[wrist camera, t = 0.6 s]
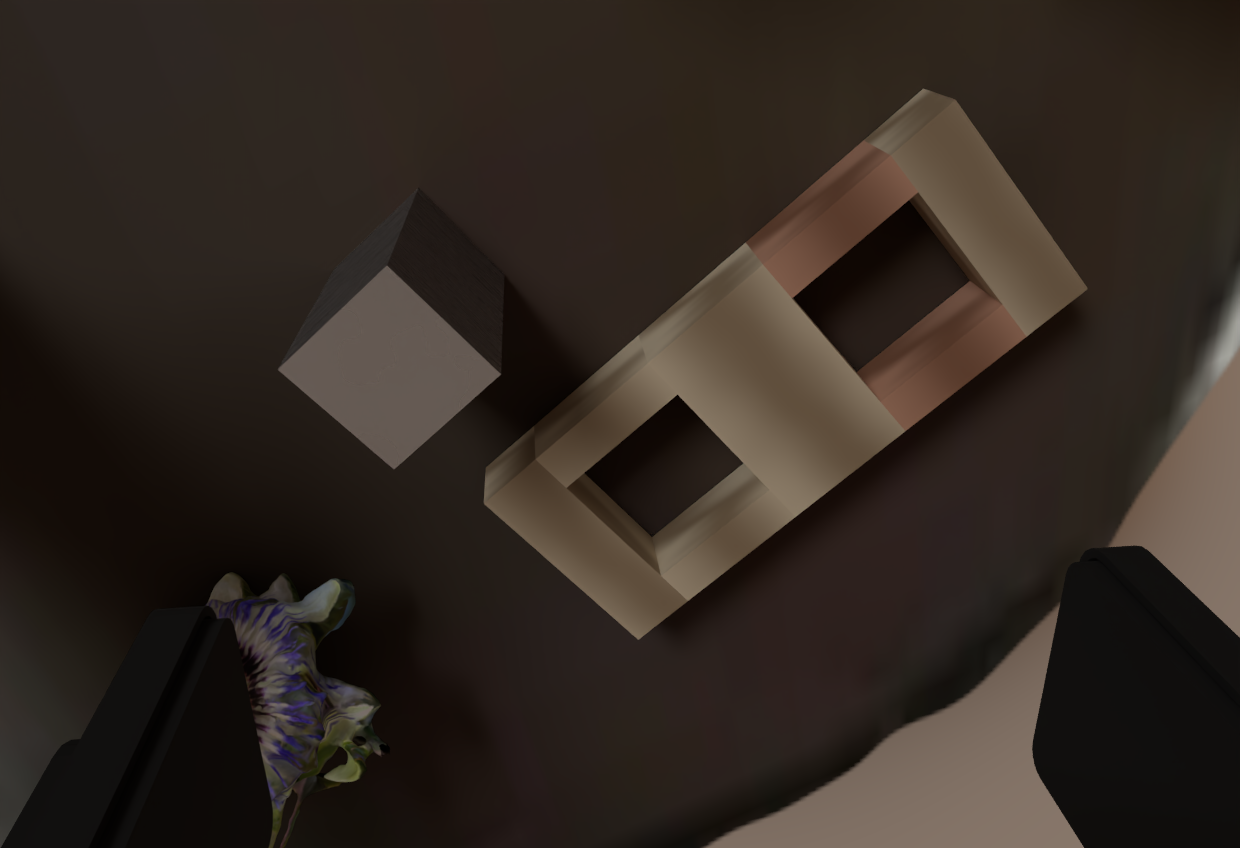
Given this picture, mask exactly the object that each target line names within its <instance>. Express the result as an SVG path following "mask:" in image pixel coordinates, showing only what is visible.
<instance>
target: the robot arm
mask: <svg viewBox="0 0 1240 848" xmlns="http://www.w3.org/2000/svg"><path fill="white" fill-rule="evenodd" d="M1032 750H1033V758H1034V764H1035V767H1036V770H1037V773H1038V774H1039V776H1040V778H1041V780H1042V782H1043V783H1044V785H1045V786H1046V788H1047V789H1048V791H1049V793H1050V794H1051V796H1052V797H1053V799H1054V801H1055V802H1056V804H1057V805H1058V807H1059V809H1060V810H1061V812H1062V813H1063V815H1064V816H1065V818H1066V820H1067V821H1068V823H1069V824H1070V826H1071V828H1072V829H1073V831H1074V832H1075V834H1076V835H1077V837H1078V839H1079V840H1080V842H1081V843H1082V845H1083V847H1084V848H1240V638H1239V637H1238V636H1237V635H1236V634H1235V633H1234V632H1233V631H1232V630H1231V629H1230V628H1229V627H1228V626H1227V625H1226V624H1225V623H1224V622H1223V621H1222V620H1221V619H1219V618H1218V617H1217V616H1216V615H1215V614H1214V613H1213V612H1212V611H1211V610H1210V609H1209V608H1208V607H1207V606H1206V605H1205V604H1204V603H1203V602H1202V601H1201V600H1199V599H1198V598H1197V597H1196V596H1195V595H1194V594H1193V593H1192V592H1191V591H1190V590H1189V589H1188V588H1187V587H1186V586H1185V585H1184V584H1183V583H1182V582H1181V581H1180V580H1179V579H1178V578H1176V577H1175V576H1174V575H1173V574H1172V573H1171V572H1170V571H1169V570H1168V569H1167V568H1166V567H1165V566H1164V565H1163V564H1162V563H1161V562H1160V561H1159V560H1158V559H1157V558H1155V557H1154V556H1153V555H1152V554H1151V553H1150V552H1149V551H1148V550H1146V549H1145V548H1143V547H1141V546H1122V547H1107V548H1091V549H1089V550H1087V551H1085V552H1084V554H1083V555H1082V557H1081V559H1080V562H1075V563H1073V564H1071V565H1070V567H1069V568H1068V570H1067V573H1066V577H1065V583H1064V588H1063V593H1062V598H1061V603H1060V608H1059V613H1058V618H1057V623H1056V628H1055V633H1054V638H1053V643H1052V648H1051V653H1050V658H1049V663H1048V668H1047V673H1046V678H1045V684H1044V689H1043V693H1042V698H1041V703H1040V708H1039V714H1038V719H1037V724H1036V729H1035V734H1034V739H1033V748H1032ZM272 828H273V807H272V800H271V796H270V791H269V786H268V782H267V777H266V772H265V767H264V763H263V758H262V753H261V749H260V744H259V739H258V734H257V730H256V725H255V720H254V716H253V711H252V706H251V701H250V697H249V692H248V687H247V683H246V678H245V673H244V668H243V664H242V659H241V654H240V650H239V645H238V640H237V635H236V631H235V627H234V624H233V622H232V620H231V619H229V618H218V619H217V617H216V613H215V612H214V610H213V608H212V607H210V606H195V607H179V608H164V609H156V610H153V611H152V612H151V613H150V615H149V616H148V617H147V619H146V621H145V623H144V625H143V626H142V628H141V630H140V632H139V634H138V636H137V637H136V639H135V641H134V643H133V645H132V646H131V648H130V650H129V652H128V654H127V655H126V657H125V659H124V661H123V663H122V665H121V666H120V668H119V670H118V672H117V674H116V675H115V677H114V679H113V681H112V683H111V685H110V686H109V688H108V690H107V692H106V694H105V695H104V697H103V699H102V701H101V703H100V704H99V706H98V708H97V710H96V712H95V714H94V715H93V717H92V719H91V721H90V723H89V724H88V726H87V728H86V730H85V732H84V733H83V735H82V737H81V739H76V740H70V741H68V742H67V743H65V744H63V745H62V746H61V747H60V748H59V750H58V751H57V752H56V754H55V755H54V756H53V758H52V760H51V761H50V763H49V765H48V766H47V768H46V770H45V772H44V773H43V775H42V777H41V779H40V780H39V782H38V784H37V786H36V787H35V789H34V791H33V793H32V794H31V796H30V798H29V800H28V801H27V803H26V805H25V807H24V808H23V810H22V812H21V814H20V815H19V817H18V819H17V821H16V822H15V824H14V826H13V828H12V829H11V831H10V833H9V835H8V836H7V838H6V840H5V842H4V843H3V845H2V847H1V848H269V845H270V841H271V836H272Z"/></svg>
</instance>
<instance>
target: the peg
mask: <svg viewBox="0 0 1240 848" xmlns="http://www.w3.org/2000/svg"><path fill="white" fill-rule="evenodd" d="M503 299H504V274H503V273H502V272H501V271H500V269H499V268H498V267H497V266H496V265H495V264H494V263H493V262H492V261H491V260H490V259H489V258H488V257H487V256H486V255H485V254H484V253H483V252H482V251H481V250H480V249H479V248H478V247H477V246H476V245H475V244H474V243H473V242H472V241H471V240H470V239H469V238H468V237H467V236H466V235H465V234H464V233H463V232H462V231H461V230H460V229H459V228H458V227H457V226H456V225H455V224H454V223H453V222H452V221H451V220H450V219H449V218H448V217H447V216H446V215H445V214H444V213H443V212H442V211H441V210H440V209H439V208H438V207H437V206H436V205H435V204H434V203H433V202H432V201H431V200H430V199H429V198H428V197H427V196H426V195H425V194H424V193H423V192H422V191H421V190H420V189H419V188H418V189H417V190H416V191H415V192H413V193H412V194H411V195H410V196H409V197H408V198H407V199H406V200H405V201H404V202H403V203H402V204H401V205H400V206H399V207H398V208H397V209H396V210H395V211H394V212H393V213H392V214H391V215H390V216H389V217H388V218H387V219H386V220H385V221H384V222H382V223H381V224H380V225H379V226H378V227H377V228H376V229H375V230H374V231H373V232H372V233H371V234H370V235H369V236H368V237H367V238H366V239H365V240H364V241H363V242H362V243H361V244H360V245H359V246H358V247H357V248H356V249H355V250H354V251H353V252H351V253H350V254H349V255H348V256H347V257H346V258H345V259H344V260H343V261H342V262H341V263H340V264H339V265H338V266H337V267H336V268H335V269H334V271H333V272H332V274H331V276H330V278H329V280H328V281H327V283H326V285H325V287H324V288H323V290H322V292H321V294H320V295H319V297H318V299H317V301H316V303H315V304H314V306H313V308H312V310H311V311H310V313H309V315H308V317H307V319H306V320H305V322H304V324H303V326H302V327H301V329H300V331H299V333H298V334H297V336H296V338H295V340H294V342H293V343H292V345H291V347H290V349H289V350H288V352H287V354H286V356H285V357H284V359H283V361H282V363H281V365H280V366H279V368H278V370H279V371H280V372H281V373H282V374H284V375H285V376H286V377H287V378H288V379H289V380H290V381H292V382H293V383H294V384H295V385H296V386H297V387H299V388H300V389H301V390H302V391H303V392H304V393H306V394H307V395H308V396H309V397H310V398H311V399H313V400H314V401H315V402H316V403H317V404H318V405H320V406H321V407H322V408H323V409H324V410H325V411H327V412H328V413H329V414H330V415H331V416H332V417H334V418H335V419H336V420H337V421H338V422H339V423H341V424H342V425H343V426H344V427H345V428H346V429H348V430H349V431H350V432H351V433H352V434H353V435H355V436H356V437H357V438H358V439H359V440H360V441H361V442H363V443H364V444H365V445H366V446H367V447H368V448H370V449H371V450H372V451H373V452H374V453H375V454H377V455H378V456H379V457H380V458H381V459H382V460H384V461H385V462H386V463H387V464H388V465H389V466H391V467H392V468H393V469H395V468H396V467H397V466H398V465H400V464H401V463H402V462H403V461H404V460H405V459H406V458H407V457H409V456H410V455H411V454H412V453H413V452H414V451H415V450H416V449H418V448H419V447H420V446H421V445H422V444H423V443H424V442H425V441H427V440H428V439H429V438H430V437H431V436H432V435H433V434H434V433H436V432H437V431H438V430H439V429H440V428H441V427H442V426H443V425H445V424H446V423H447V422H448V421H449V420H450V419H451V418H452V417H454V416H455V415H456V414H457V413H458V412H459V411H460V410H461V409H463V408H464V407H465V406H466V405H467V404H468V403H469V402H470V401H472V400H473V399H474V398H475V397H476V396H477V395H478V394H479V393H481V392H482V391H483V390H484V389H485V388H486V387H487V386H488V385H490V384H491V383H492V382H493V381H494V380H495V379H496V378H497V377H499V376H500V375H501V359H502V329H503Z"/></svg>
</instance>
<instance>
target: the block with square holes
mask: <svg viewBox="0 0 1240 848" xmlns="http://www.w3.org/2000/svg"><path fill="white" fill-rule="evenodd" d="M908 200H909V201H910V202H911V204H912V205H913V206H914V208H915V209H916V210H917V212H918V213H919V214H920V215H921V217H922V218H923V219H924V221H925V222H926V223H927V225H928V226H929V227H930V229H931V230H932V231H933V233H934V234H935V235H936V237H937V238H938V239H939V241H940V242H941V243H942V245H943V246H944V247H945V249H946V250H947V251H948V252H949V254H950V255H951V256H952V258H953V259H954V260H955V262H956V263H957V264H958V266H959V267H960V268H961V270H962V271H963V272H964V274H965V275H966V276H967V278H968V279H969V280H970V281H969V282H968V283H967V284H965V285H964V286H963V287H962V288H960V289H959V290H958V291H957V292H956V293H954V294H953V295H952V296H951V297H949V298H948V299H947V300H946V301H944V302H943V303H942V304H941V305H939V306H938V307H937V308H936V309H934V310H933V311H932V312H931V313H929V314H928V315H927V316H926V317H925V318H923V319H922V320H921V321H920V322H918V323H917V324H916V325H915V326H913V327H912V328H911V329H910V330H908V331H907V332H906V333H905V334H903V335H902V336H901V337H900V338H898V339H897V340H896V341H895V342H893V343H892V344H891V345H890V346H889V347H887V348H886V349H885V350H884V351H882V352H881V353H880V354H879V355H877V356H876V357H875V358H874V359H872V360H871V361H870V362H869V363H867V364H866V365H865V366H864V367H862V368H861V369H860V370H859V371H858V372H856V371H855V370H854V369H853V368H852V366H851V365H850V364H849V363H848V362H847V360H846V359H845V358H844V357H843V356H842V355H841V353H840V352H839V351H838V350H837V349H836V348H835V346H834V345H833V344H832V343H831V342H830V341H829V339H828V338H827V337H826V336H825V335H824V334H823V332H822V331H821V330H820V329H819V328H818V327H817V325H816V324H815V323H814V322H813V321H812V320H811V318H810V317H809V316H808V315H807V314H806V313H805V311H804V310H803V309H802V308H801V307H800V306H799V304H798V303H797V302H796V301H795V300H794V298H793V297H794V296H795V295H797V294H798V293H799V292H800V291H801V290H802V289H804V288H805V287H806V286H807V285H808V284H810V283H811V282H812V281H813V280H814V279H816V278H817V277H818V276H819V275H820V274H822V273H823V272H824V271H825V270H826V269H827V268H829V267H830V266H831V265H832V264H833V263H835V262H836V261H837V260H838V259H839V258H841V257H842V256H843V255H844V254H845V253H847V252H848V251H849V250H850V249H851V248H852V247H854V246H855V245H856V244H857V243H858V242H860V241H861V240H862V239H863V238H864V237H866V236H867V235H868V234H869V233H870V232H872V231H873V230H874V229H875V228H876V227H877V226H879V225H880V224H881V223H882V222H883V221H885V220H886V219H887V218H888V217H889V216H891V215H892V214H893V213H894V212H895V211H897V210H898V209H899V208H900V207H901V206H902V205H904V204H905V203H906V202H907V201H908ZM1087 289H1088V288H1087V287H1086V286H1085V284H1084V283H1083V281H1082V280H1081V278H1080V277H1079V276H1078V274H1077V273H1076V271H1075V270H1074V268H1073V267H1072V266H1071V264H1070V263H1069V261H1068V260H1067V258H1066V257H1065V256H1064V254H1063V253H1062V251H1061V250H1060V248H1059V247H1058V246H1057V244H1056V243H1055V241H1054V240H1053V238H1052V237H1051V236H1050V234H1049V233H1048V231H1047V230H1046V228H1045V227H1044V226H1043V224H1042V223H1041V221H1040V220H1039V218H1038V217H1037V216H1036V214H1035V213H1034V211H1033V210H1032V208H1031V207H1030V206H1029V204H1028V203H1027V201H1026V200H1025V198H1024V197H1023V196H1022V194H1021V193H1020V191H1019V190H1018V188H1017V187H1016V186H1015V184H1014V183H1013V181H1012V180H1011V178H1010V177H1009V176H1008V174H1007V173H1006V171H1005V170H1004V168H1003V167H1002V166H1001V164H1000V163H999V161H998V160H997V158H996V157H995V155H994V154H993V153H992V151H991V150H990V148H989V147H988V145H987V144H986V143H985V141H984V140H983V138H982V137H981V135H980V134H979V133H978V131H977V130H976V128H975V127H974V125H973V124H972V123H971V121H970V120H969V118H968V117H967V115H966V114H965V113H964V111H963V110H962V108H961V107H960V105H959V104H958V103H957V101H956V100H955V99H952V98H949V97H946V96H943V95H940V94H937V93H934V92H931V91H929V90H926V89H922V90H921V91H920V92H919V93H918V94H917V95H915V96H914V97H913V98H912V99H911V100H910V101H909V102H907V103H906V104H905V105H904V106H903V107H902V108H900V109H899V110H898V111H897V112H896V113H895V114H894V115H892V116H891V117H890V118H889V119H888V120H887V121H885V122H884V123H883V124H882V125H881V126H880V127H879V128H877V129H876V130H875V131H874V132H873V133H872V134H870V135H869V136H868V137H867V138H866V139H865V140H863V141H862V142H861V143H860V144H859V145H858V146H857V147H855V148H854V149H853V150H852V151H851V152H850V153H848V154H847V155H846V156H845V157H844V158H843V159H842V160H840V161H839V162H838V163H837V164H836V165H835V166H833V167H832V168H831V169H830V170H829V171H828V172H827V173H825V174H824V175H823V176H822V177H821V178H820V179H818V180H817V181H816V182H815V183H814V184H813V185H812V186H810V187H809V188H808V189H807V190H806V191H805V192H803V193H802V194H801V195H800V196H799V197H798V198H797V199H795V200H794V201H793V202H792V203H791V204H790V205H788V206H787V207H786V208H785V209H784V210H783V211H782V212H780V213H779V214H778V215H777V216H776V217H775V218H773V219H772V220H771V221H770V222H769V223H768V224H767V225H765V226H764V227H763V228H762V229H761V230H760V231H758V232H757V233H756V234H755V235H754V236H753V237H751V238H750V239H749V240H748V241H747V242H746V243H745V244H743V245H742V246H741V247H740V248H739V249H738V250H736V251H735V252H734V253H733V254H732V255H731V256H730V257H728V258H727V259H726V260H725V261H724V262H723V263H721V264H720V265H719V266H718V267H717V268H716V269H715V270H713V271H712V272H711V273H710V274H709V275H708V276H706V277H705V278H704V279H703V280H702V281H701V282H700V283H698V284H697V285H696V286H695V287H694V288H693V289H691V290H690V291H689V292H688V293H687V294H686V295H685V296H683V297H682V298H681V299H680V300H679V301H678V302H676V303H675V304H674V305H673V306H672V307H671V308H670V309H668V310H667V311H666V312H665V313H664V314H663V315H661V316H660V317H659V318H658V319H657V320H656V321H655V322H653V323H652V324H651V325H650V326H649V327H648V328H646V329H645V330H644V331H643V332H642V333H641V334H640V335H638V336H637V337H636V338H635V339H634V340H633V341H631V342H630V343H629V344H628V345H627V346H626V347H624V348H623V349H622V350H621V351H620V352H619V353H618V354H616V355H615V356H614V357H613V358H612V359H611V360H609V361H608V362H607V363H606V364H605V365H604V366H603V367H601V368H600V369H599V370H598V371H597V372H596V373H594V374H593V375H592V376H591V377H590V378H589V379H588V380H586V381H585V382H584V383H583V384H582V385H581V386H579V387H578V388H577V389H576V390H575V391H574V392H573V393H571V394H570V395H569V396H568V397H567V398H566V399H564V400H563V401H562V402H561V403H560V404H559V405H558V406H556V407H555V408H554V409H553V410H552V411H551V412H549V413H548V414H547V415H546V416H545V417H544V418H543V419H541V420H540V421H539V422H538V423H537V424H536V425H534V426H533V427H532V428H531V429H530V430H529V431H528V432H526V433H525V434H524V435H523V436H522V437H521V438H519V439H518V440H517V441H516V442H515V443H514V444H513V445H511V446H510V447H509V448H508V449H507V450H506V451H504V452H503V453H502V454H501V455H500V456H499V457H497V458H496V459H495V460H494V461H493V462H492V463H491V464H489V465H488V466H487V467H486V474H485V492H484V504H485V505H486V506H487V507H488V508H489V509H491V510H492V511H493V512H494V513H495V514H496V515H497V516H498V517H500V518H501V519H502V520H503V521H504V522H505V523H506V524H508V525H509V526H510V527H511V528H512V529H513V530H514V531H516V532H517V533H518V534H519V535H520V536H521V537H522V538H523V539H525V540H526V541H527V542H528V543H529V544H530V545H531V546H533V547H534V548H535V549H536V550H537V551H538V552H539V553H541V554H542V555H543V556H544V557H545V558H546V559H547V560H548V561H550V562H551V563H552V564H553V565H554V566H555V567H556V568H558V569H559V570H560V571H561V572H562V573H563V574H564V575H565V576H567V577H568V578H569V579H570V580H571V581H572V582H573V583H575V584H576V585H577V586H578V587H579V588H580V589H581V590H583V591H584V592H585V593H586V594H587V595H588V596H589V597H590V598H592V599H593V600H594V601H595V602H596V603H597V604H598V605H600V606H601V607H602V608H603V609H604V610H605V611H606V612H607V613H609V614H610V615H611V616H612V617H613V618H614V619H615V620H617V621H618V622H619V623H620V624H621V625H622V626H623V627H625V628H626V629H627V630H628V631H629V632H630V633H631V634H632V635H634V636H635V637H636V638H637V639H638V640H639V639H640V638H641V637H642V636H644V635H645V634H646V633H647V632H649V631H650V630H651V629H653V628H654V627H655V626H656V625H658V624H659V623H660V622H662V621H663V620H664V619H665V618H667V617H668V616H669V615H671V614H672V613H673V612H674V611H676V610H677V609H678V608H680V607H681V606H682V605H683V604H685V603H686V602H687V601H688V600H690V599H691V598H692V597H694V596H695V595H696V594H697V593H699V592H700V591H701V590H703V589H704V588H705V587H706V586H708V585H709V584H710V583H712V582H713V581H714V580H715V579H717V578H718V577H719V576H721V575H722V574H723V573H724V572H726V571H727V570H728V569H729V568H731V567H732V566H733V565H735V564H736V563H737V562H738V561H740V560H741V559H742V558H744V557H745V556H746V555H747V554H749V553H750V552H751V551H753V550H754V549H755V548H756V547H758V546H759V545H760V544H762V543H763V542H764V541H765V540H767V539H768V538H769V537H770V536H772V535H773V534H774V533H776V532H777V531H778V530H779V529H781V528H782V527H783V526H785V525H786V524H787V523H788V522H790V521H791V520H792V519H794V518H795V517H796V516H797V515H799V514H800V513H801V512H803V511H804V510H805V509H806V508H808V507H809V506H810V505H811V504H813V503H814V502H815V501H817V500H818V499H819V498H820V497H822V496H823V495H824V494H826V493H827V492H828V491H829V490H831V489H832V488H833V487H835V486H836V485H837V484H838V483H840V482H841V481H842V480H844V479H845V478H846V477H847V476H849V475H850V474H851V473H852V472H854V471H855V470H856V469H858V468H859V467H860V466H861V465H863V464H864V463H865V462H867V461H868V460H869V459H870V458H872V457H873V456H874V455H876V454H877V453H878V452H879V451H881V450H882V449H883V448H885V447H886V446H887V445H888V444H890V443H891V442H892V441H893V440H895V439H896V438H897V437H899V436H900V435H901V434H902V433H904V432H905V431H906V430H908V429H909V428H910V427H911V426H913V425H914V424H915V423H917V422H918V421H919V420H920V419H922V418H923V417H924V416H926V415H927V414H928V413H929V412H931V411H932V410H933V409H934V408H936V407H937V406H938V405H940V404H941V403H942V402H943V401H945V400H946V399H947V398H949V397H950V396H951V395H952V394H954V393H955V392H956V391H958V390H959V389H960V388H961V387H963V386H964V385H965V384H967V383H968V382H969V381H970V380H972V379H973V378H974V377H975V376H977V375H978V374H979V373H981V372H982V371H983V370H984V369H986V368H987V367H988V366H990V365H991V364H992V363H993V362H995V361H996V360H997V359H999V358H1000V357H1001V356H1002V355H1004V354H1005V353H1006V352H1008V351H1009V350H1010V349H1011V348H1013V347H1014V346H1015V345H1016V344H1018V343H1019V342H1020V341H1022V340H1023V339H1024V338H1025V337H1027V336H1028V335H1029V334H1031V333H1032V332H1033V331H1034V330H1036V329H1037V328H1038V327H1040V326H1041V325H1042V324H1043V323H1045V322H1046V321H1047V320H1049V319H1050V318H1051V317H1052V316H1054V315H1055V314H1056V313H1057V312H1059V311H1060V310H1061V309H1063V308H1064V307H1065V306H1066V305H1068V304H1069V303H1070V302H1072V301H1073V300H1074V299H1075V298H1077V297H1078V296H1079V295H1081V294H1082V293H1083V292H1084V291H1086V290H1087ZM676 395H679V396H680V398H681V399H682V400H683V401H684V402H685V403H686V404H687V405H688V406H689V407H690V408H691V409H692V410H693V411H694V412H695V413H696V414H697V415H698V416H699V417H700V418H701V419H702V420H703V421H704V422H705V423H706V425H707V426H708V427H709V428H710V429H711V430H712V431H713V432H714V433H715V434H716V435H717V436H718V437H719V438H720V439H721V440H722V441H723V442H724V443H725V444H726V445H727V446H728V447H729V448H730V449H731V450H732V452H733V453H734V454H735V455H736V456H737V457H738V458H739V459H740V460H741V461H742V462H743V464H742V465H741V466H740V467H738V468H737V469H736V470H735V471H733V472H732V473H731V474H730V475H729V476H727V477H726V478H725V479H724V480H722V481H721V482H720V483H719V484H717V485H716V486H715V487H714V488H712V489H711V490H710V491H709V492H707V493H706V494H705V495H704V496H702V497H701V498H700V499H699V500H698V501H696V502H695V503H694V504H693V505H691V506H690V507H689V508H688V509H686V510H685V511H684V512H683V513H681V514H680V515H679V516H678V517H676V518H675V519H674V520H673V521H671V522H670V523H669V524H668V525H667V526H665V527H664V528H663V529H662V530H660V531H659V532H658V533H657V534H655V535H654V536H653V537H651V536H650V535H649V534H648V533H647V532H646V531H645V530H644V529H643V528H642V527H641V526H640V525H639V524H638V523H637V522H635V521H634V520H633V519H632V518H631V517H630V516H629V515H628V514H627V513H626V512H625V511H624V510H623V509H622V508H621V507H620V506H619V505H617V504H616V503H615V502H614V501H613V500H612V499H611V498H610V497H609V496H608V495H607V494H606V493H605V492H604V491H603V490H602V489H601V488H599V487H598V486H597V485H596V484H595V483H594V482H593V481H592V480H591V479H590V478H589V477H588V476H587V475H586V474H585V472H586V471H587V470H588V469H589V468H591V467H592V466H593V465H594V464H595V463H597V462H598V461H599V460H600V459H601V458H603V457H604V456H605V455H606V454H607V453H608V452H610V451H611V450H612V449H613V448H614V447H616V446H617V445H618V444H619V443H620V442H622V441H623V440H624V439H625V438H626V437H628V436H629V435H630V434H631V433H632V432H633V431H635V430H636V429H637V428H638V427H639V426H641V425H642V424H643V423H644V422H645V421H647V420H648V419H649V418H650V417H651V416H653V415H654V414H655V413H656V412H657V411H658V410H660V409H661V408H662V407H663V406H664V405H666V404H667V403H668V402H669V401H670V400H672V399H673V398H674V397H675V396H676Z"/></svg>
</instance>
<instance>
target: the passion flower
mask: <svg viewBox="0 0 1240 848" xmlns="http://www.w3.org/2000/svg"><path fill="white" fill-rule="evenodd" d="M355 603H356V601H355V590H354V586H353V584H352V582H351V581H349V580H345V579H337V578H334V579H330V580H329V581H328V582H326V583H324V584H323V585H321V586H320V587H318V588H317V589H315V590H313V591H312V592H310V593H309V594H308V595H306V596H305V598H304V599H303V600H302V601H301V600H300V598H299V595H298V592H297V589H296V587H295V585H294V584H293V582H292V581H291V579H290V578H289V577H288V575H287V574H285V573H283V574H281V575H280V576H279V577H278V578H277V579H276V580H275V581H274V582H273V583H272V585H271V586H270V588H269V590H268V591H266V592H265V593H263V594H261V595H260V596H257V595H255V594H253V593H252V592H251V591H250V588H249V586H248V584H247V582H246V581H245V580H244V579H243V578H241V577H240V576H239V575H238V574H236V573H233V572H230V573H228V574H226V575H225V576H223V578H222V579H221V580H220V581H219V582H218V583H217V584H216V585H215V587H214V589H213V590H212V592H211V596H210V598H209V601H208V603H207V604H206V605H205V606H210V607H212V608H213V610H214V612H215V613H216V617H217V619H218V618H229V619H231V620H232V622H233V624H234V627H235V631H236V635H237V640H238V645H239V650H240V654H241V659H242V664H243V668H244V673H245V678H246V683H247V687H248V692H249V697H250V701H251V706H252V711H253V716H254V720H255V725H256V730H257V734H258V739H259V744H260V749H261V753H262V758H263V763H264V767H265V772H266V777H267V782H268V786H269V791H270V796H271V800H272V807H273V828H272V836H271V841H270V845H269V848H273V846H274V843H275V840H276V837H277V834H278V832H279V829H280V827H281V820H282V813H283V809H284V805H285V801H286V798H288V797H289V796H290V794H291V791H292V789H293V790H294V792H295V793H297V795H298V799H297V802H296V805H295V808H294V811H293V814H292V816H291V818H290V819H289V825H288V830H287V832H286V834H285V836H284V838H283V840H282V843H281V845H280V848H284V847H285V845H286V843H287V841H288V839H289V837H290V835H291V832H292V830H293V827H294V823H295V820H296V818H297V816H298V814H299V813H300V805H301V803H302V801H303V800H304V799H305V798H306V797H307V796H308V795H311V794H314V793H316V792H318V791H321V790H325V789H328V788H330V787H334V786H339V785H340V784H341V783H342V782H353V781H356V780H357V779H360V778H361V777H363V775H364V774H365V772H366V771H367V769H366V765H365V760H366V759H367V757H368V756H369V755H370V754H371V753H373V752H375V753H376V754H378V755H379V756H380V757H382V756H381V754H382V755H385V754H390V747H389V746H388V745H387V743H385V742H384V741H382V740H381V739H380V738H379V737H378V736H377V735H376V734H375V732H374V730H373V727H372V718H373V715H374V714H375V712H376V711H377V710H378V709H379V708H380V706H381V704H380V702H379V700H378V699H377V698H376V697H375V696H374V694H373V693H371V692H370V691H368V690H367V689H365V688H360V687H357V686H354V685H351V684H348V683H346V682H344V681H341V680H338V679H335V678H330V677H327V676H324V675H322V674H321V673H320V672H318V670H317V669H316V657H315V650H316V649H317V647H318V646H319V644H320V643H321V641H322V639H323V638H324V637H326V636H327V635H328V634H329V633H330V632H331V631H333V630H336V629H338V628H339V627H340V626H341V625H343V624H344V621H345V620H346V619H347V618H348V617H349V616H350V614H351V612H352V610H353V608H354V606H355ZM352 740H355V741H356V742H357V743H359V744H362V746H357V745H356V744H355V743H353V742H352ZM339 746H340V747H342V748H344V750H345V751H347V754H348V761H347V764H346V765H340V766H338V767H336V768H334V769H333V770H332V771H330V772H329V773H327V774H325V773H319V772H320V771H321V769H322V767H323V766H324V764H325V763H326V762H327V761H328V760H329V759H330V758H331V757H332V756H333V754H334V753H335V751H336V750H337V748H338V747H339Z"/></svg>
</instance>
